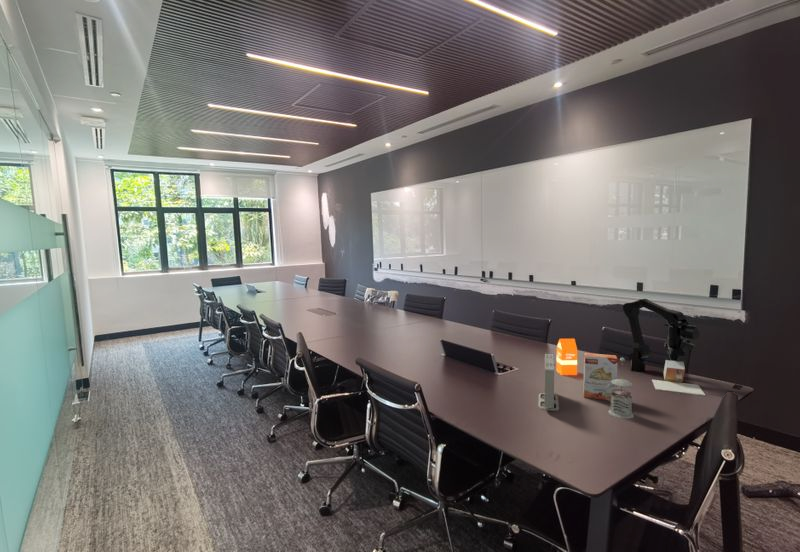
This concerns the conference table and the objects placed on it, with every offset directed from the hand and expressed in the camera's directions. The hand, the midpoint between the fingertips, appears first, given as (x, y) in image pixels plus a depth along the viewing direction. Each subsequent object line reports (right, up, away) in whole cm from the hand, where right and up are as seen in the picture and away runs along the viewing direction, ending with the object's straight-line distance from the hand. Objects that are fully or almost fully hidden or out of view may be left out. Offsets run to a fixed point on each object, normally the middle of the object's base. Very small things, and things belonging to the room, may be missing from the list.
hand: (673, 364), depth 207 cm
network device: (-75, -13, -22) cm, 80 cm away
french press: (-50, -14, -36) cm, 63 cm away
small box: (+1, -8, +2) cm, 8 cm away
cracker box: (-49, -12, -18) cm, 54 cm away
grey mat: (-4, -10, -9) cm, 14 cm away
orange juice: (-50, -9, +17) cm, 53 cm away
